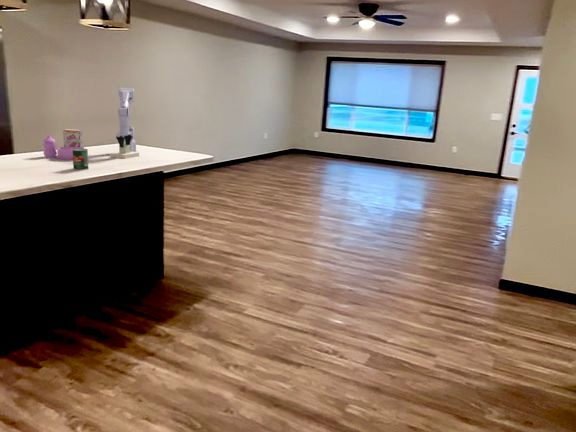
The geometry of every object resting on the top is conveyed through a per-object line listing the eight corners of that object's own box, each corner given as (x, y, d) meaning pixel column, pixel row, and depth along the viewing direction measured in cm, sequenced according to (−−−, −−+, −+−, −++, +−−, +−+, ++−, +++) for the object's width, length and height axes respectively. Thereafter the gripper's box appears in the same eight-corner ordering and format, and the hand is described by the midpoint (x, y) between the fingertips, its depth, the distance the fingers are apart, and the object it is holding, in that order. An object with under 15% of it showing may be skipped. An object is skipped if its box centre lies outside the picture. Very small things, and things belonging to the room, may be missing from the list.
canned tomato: (72, 169, 276) (71, 150, 273) (74, 167, 283) (73, 148, 280) (87, 170, 278) (86, 150, 275) (89, 167, 285) (88, 148, 282)
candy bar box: (64, 155, 322) (62, 129, 318) (68, 154, 327) (66, 128, 323) (80, 156, 321) (79, 130, 317) (84, 155, 326) (83, 130, 322)
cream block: (125, 155, 339) (125, 150, 339) (139, 157, 335) (139, 152, 334) (110, 157, 327) (110, 153, 326) (125, 159, 322) (124, 154, 322)
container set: (88, 157, 318) (87, 137, 315) (76, 161, 304) (75, 139, 300) (51, 155, 320) (50, 134, 317) (37, 158, 306) (36, 136, 302)
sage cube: (124, 152, 333) (124, 144, 332) (130, 152, 332) (130, 145, 330) (119, 152, 329) (119, 145, 327) (125, 153, 327) (125, 146, 326)
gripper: (125, 125, 333) (126, 145, 337) (111, 126, 320) (112, 147, 324) (134, 125, 331) (135, 146, 335) (121, 127, 318) (121, 148, 322)
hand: (124, 147), depth 329 cm, fingers open, 6 cm apart
